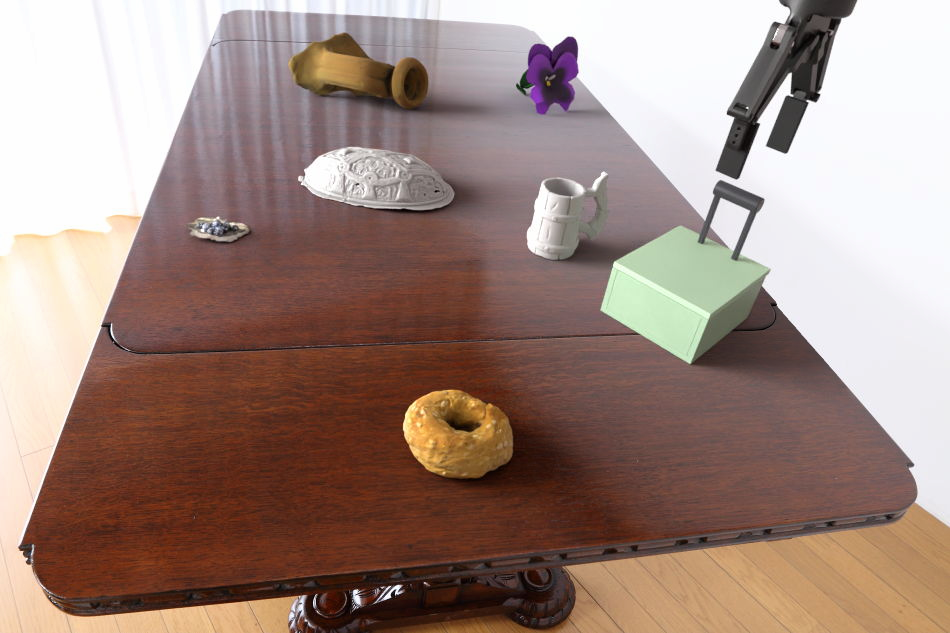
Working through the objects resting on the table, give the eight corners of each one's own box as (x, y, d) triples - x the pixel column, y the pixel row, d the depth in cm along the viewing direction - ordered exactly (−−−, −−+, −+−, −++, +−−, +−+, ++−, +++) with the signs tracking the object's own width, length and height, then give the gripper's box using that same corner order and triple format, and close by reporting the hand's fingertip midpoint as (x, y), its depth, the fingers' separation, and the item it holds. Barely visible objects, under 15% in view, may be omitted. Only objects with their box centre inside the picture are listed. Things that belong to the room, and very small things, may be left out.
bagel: (503, 497, 63) (510, 463, 60) (388, 470, 64) (391, 435, 61) (518, 423, 71) (526, 390, 68) (417, 400, 72) (420, 366, 69)
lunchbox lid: (678, 229, 95) (701, 165, 90) (768, 274, 89) (799, 207, 83) (612, 266, 85) (632, 196, 79) (708, 319, 78) (738, 247, 72)
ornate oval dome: (447, 217, 103) (450, 174, 100) (285, 199, 104) (283, 156, 101) (459, 183, 116) (462, 144, 113) (316, 167, 117) (314, 129, 114)
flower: (498, 122, 153) (535, 114, 142) (489, 52, 149) (526, 38, 138) (549, 116, 160) (588, 107, 149) (540, 49, 157) (580, 35, 145)
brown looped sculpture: (354, 38, 148) (436, 46, 138) (348, 99, 152) (427, 112, 142) (291, 20, 133) (376, 29, 123) (286, 89, 137) (369, 103, 126)
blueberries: (187, 221, 95) (185, 209, 93) (247, 217, 97) (246, 205, 96) (189, 246, 90) (187, 234, 89) (252, 241, 93) (251, 229, 91)
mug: (517, 235, 103) (531, 161, 95) (588, 232, 106) (606, 160, 99) (535, 262, 97) (551, 186, 90) (609, 258, 100) (630, 184, 93)
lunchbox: (662, 272, 99) (675, 231, 95) (747, 317, 92) (766, 276, 88) (600, 310, 89) (612, 267, 85) (690, 364, 82) (708, 320, 78)
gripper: (837, -44, 79) (768, 130, 92) (740, -34, 64) (674, 173, 77) (903, -28, 76) (821, 150, 88) (817, -14, 60) (734, 200, 73)
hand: (753, 161), depth 83 cm, fingers open, 13 cm apart
